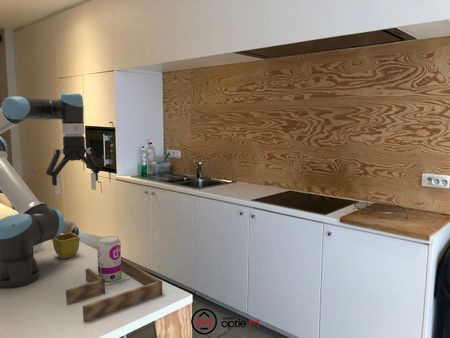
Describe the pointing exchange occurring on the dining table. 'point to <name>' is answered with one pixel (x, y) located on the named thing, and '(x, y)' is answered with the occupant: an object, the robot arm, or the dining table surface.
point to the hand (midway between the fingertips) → (76, 191)
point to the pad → (117, 280)
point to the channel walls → (117, 301)
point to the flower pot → (66, 245)
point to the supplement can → (109, 258)
